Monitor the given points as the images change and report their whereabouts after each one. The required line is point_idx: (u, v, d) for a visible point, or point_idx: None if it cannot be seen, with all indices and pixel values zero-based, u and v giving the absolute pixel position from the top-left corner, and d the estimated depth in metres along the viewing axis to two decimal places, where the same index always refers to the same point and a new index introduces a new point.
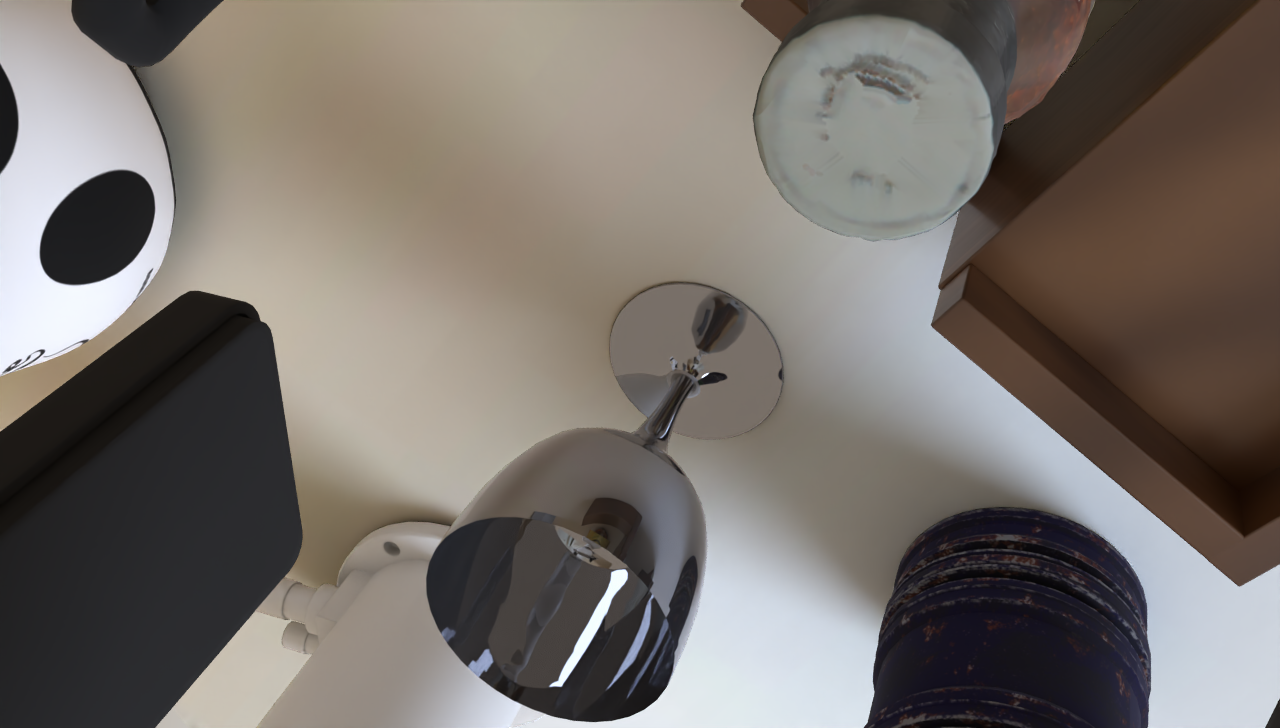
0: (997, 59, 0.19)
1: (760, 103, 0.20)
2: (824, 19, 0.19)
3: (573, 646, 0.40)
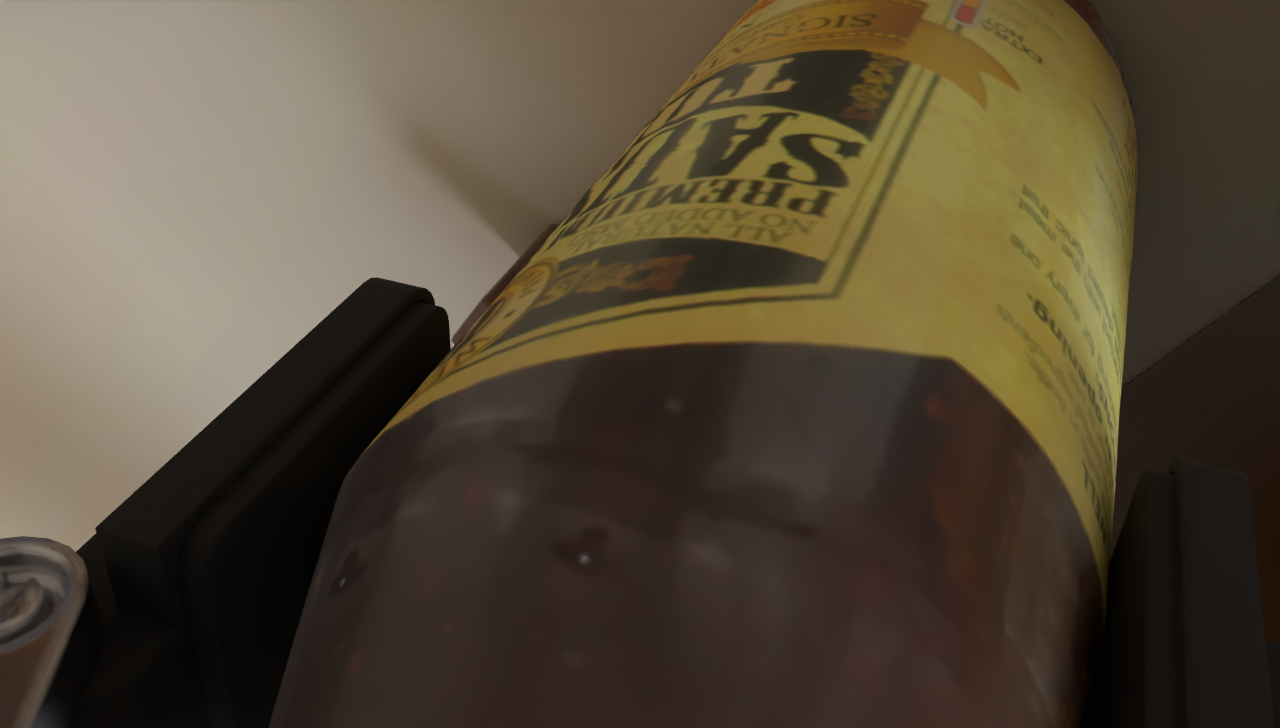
0: None
1: None
2: None
3: None
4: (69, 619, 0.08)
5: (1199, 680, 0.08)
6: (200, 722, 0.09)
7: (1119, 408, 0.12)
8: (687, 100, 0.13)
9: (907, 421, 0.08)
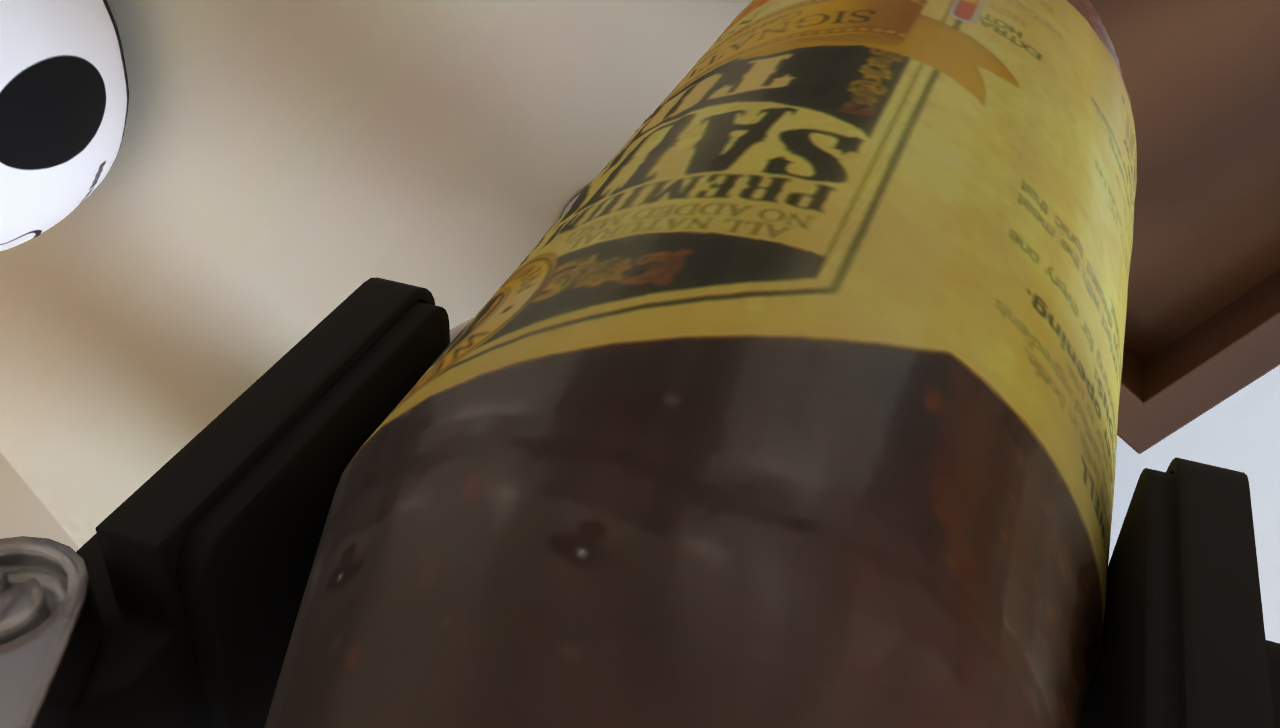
0: None
1: None
2: None
3: None
4: (70, 619, 0.08)
5: (1199, 680, 0.08)
6: (200, 722, 0.09)
7: (1118, 404, 0.11)
8: (686, 96, 0.13)
9: (908, 416, 0.08)
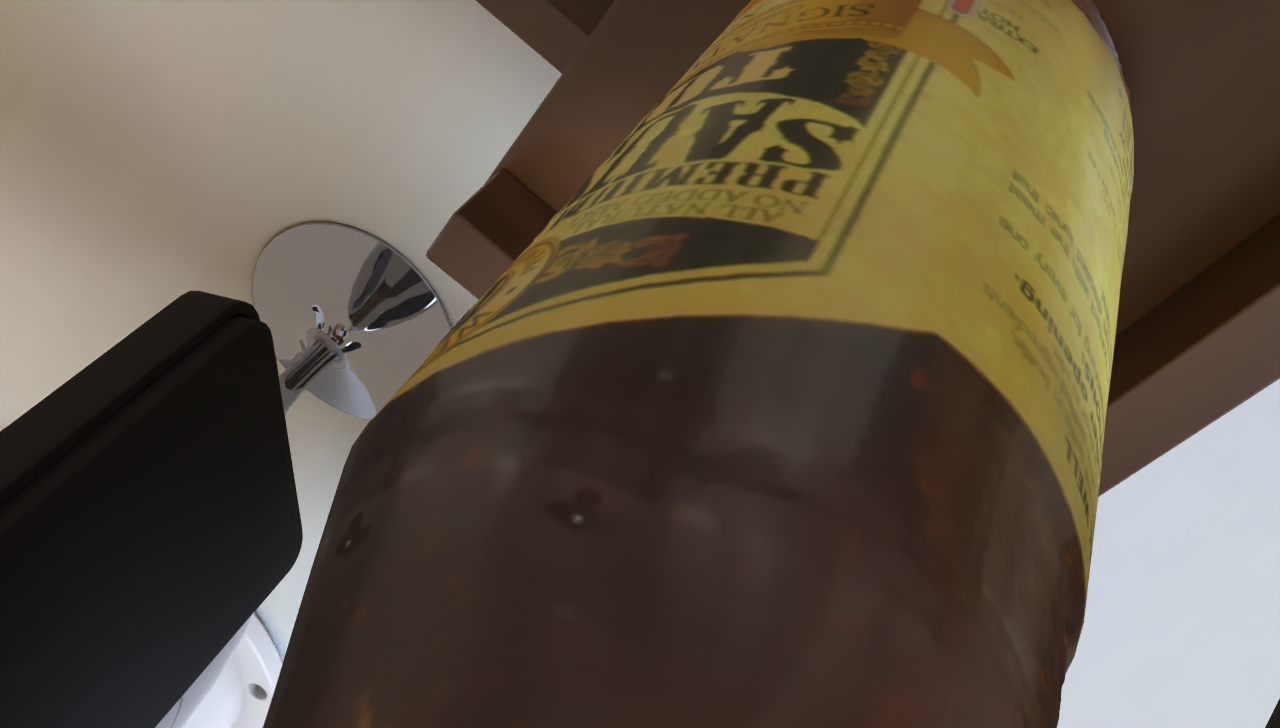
0: None
1: None
2: None
3: None
4: None
5: None
6: None
7: (1107, 388, 0.12)
8: (688, 87, 0.13)
9: (892, 392, 0.08)
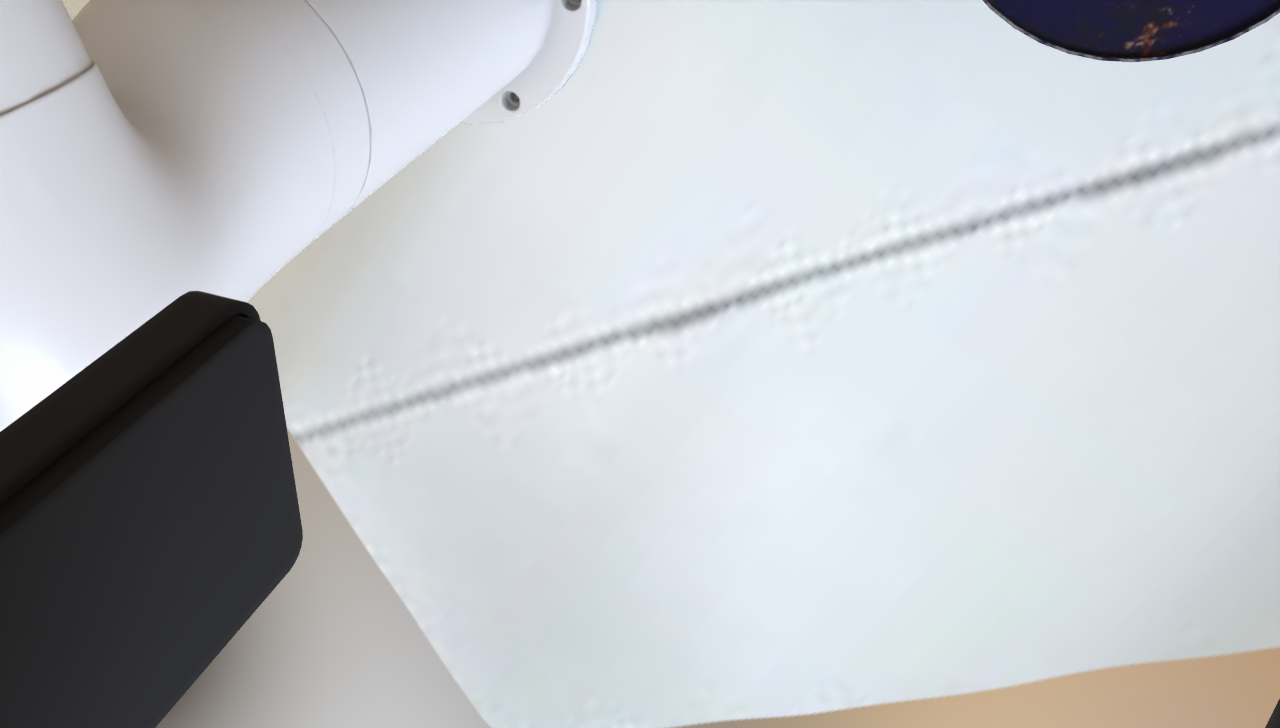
0: None
1: None
2: None
3: None
4: None
5: None
6: None
7: None
8: None
9: None
